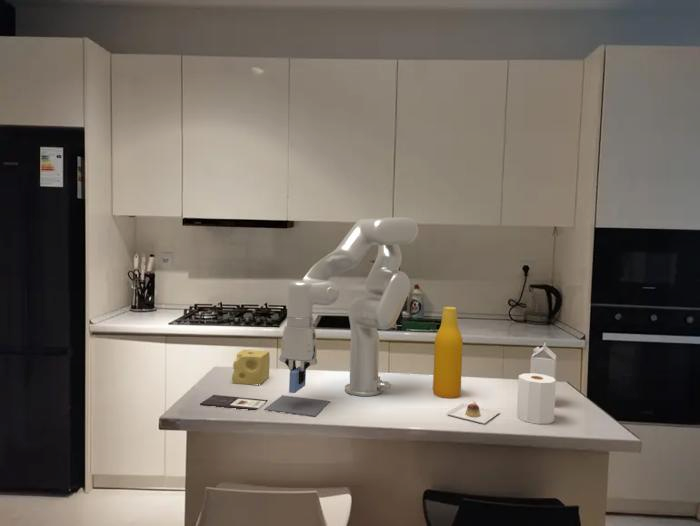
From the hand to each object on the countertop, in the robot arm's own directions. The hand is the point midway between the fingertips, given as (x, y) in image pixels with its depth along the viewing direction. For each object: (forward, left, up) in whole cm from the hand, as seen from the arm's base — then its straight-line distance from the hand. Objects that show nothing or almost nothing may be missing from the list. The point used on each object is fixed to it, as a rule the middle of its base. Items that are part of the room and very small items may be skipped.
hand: (297, 382), depth 161 cm
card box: (0, 0, -2) cm, 2 cm away
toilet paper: (-69, -14, -8) cm, 71 cm away
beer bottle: (-42, -28, -8) cm, 51 cm away
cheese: (+25, -20, -8) cm, 33 cm away
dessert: (-52, -11, -8) cm, 53 cm away
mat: (0, 0, -7) cm, 7 cm away
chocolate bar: (+19, +4, -8) cm, 21 cm away
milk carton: (-72, -30, -8) cm, 79 cm away
